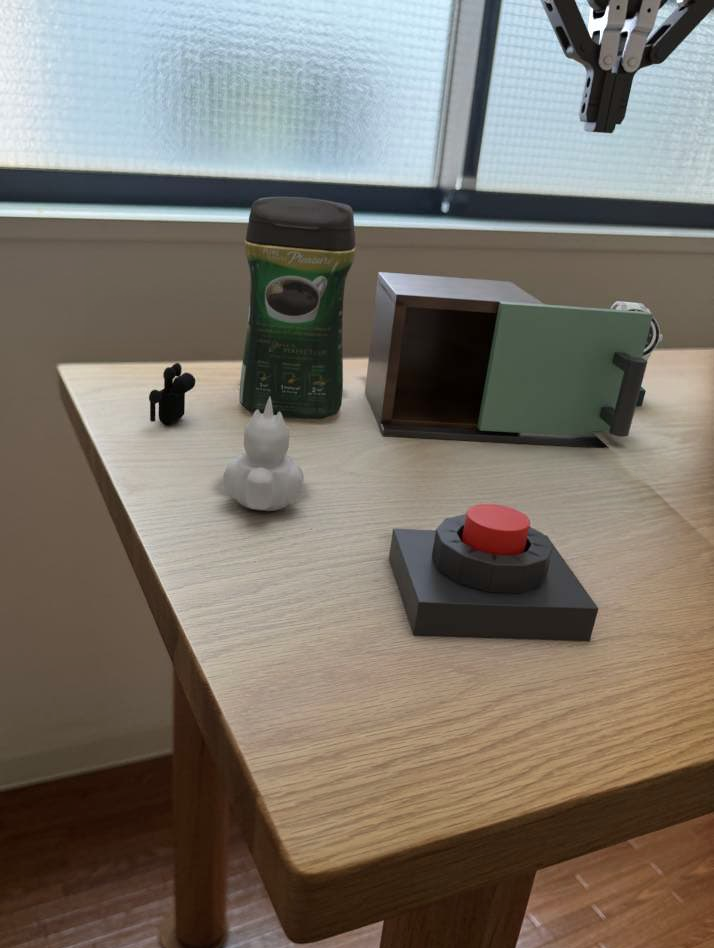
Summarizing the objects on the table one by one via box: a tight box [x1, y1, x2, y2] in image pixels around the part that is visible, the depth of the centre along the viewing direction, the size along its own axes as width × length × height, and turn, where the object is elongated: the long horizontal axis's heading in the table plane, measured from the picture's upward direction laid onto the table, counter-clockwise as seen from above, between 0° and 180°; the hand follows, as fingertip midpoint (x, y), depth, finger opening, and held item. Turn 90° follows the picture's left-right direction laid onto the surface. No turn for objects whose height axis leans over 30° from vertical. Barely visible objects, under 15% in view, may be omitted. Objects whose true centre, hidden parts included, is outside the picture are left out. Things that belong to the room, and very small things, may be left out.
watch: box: [610, 300, 664, 408], centre depth 85 cm, size 6×8×11 cm
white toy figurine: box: [223, 397, 305, 512], centre depth 58 cm, size 5×7×8 cm
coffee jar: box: [238, 196, 357, 421], centre depth 76 cm, size 10×8×19 cm
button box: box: [388, 513, 599, 642], centre depth 50 cm, size 10×9×4 cm
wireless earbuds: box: [148, 362, 196, 426], centre depth 73 cm, size 7×2×5 cm, turn 162°
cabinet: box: [364, 271, 610, 449], centre depth 79 cm, size 22×13×12 cm, turn 94°
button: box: [462, 503, 531, 556], centre depth 49 cm, size 4×4×2 cm
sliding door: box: [477, 301, 654, 438], centre depth 73 cm, size 13×5×11 cm, turn 94°
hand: (598, 132), depth 61 cm, fingers closed
